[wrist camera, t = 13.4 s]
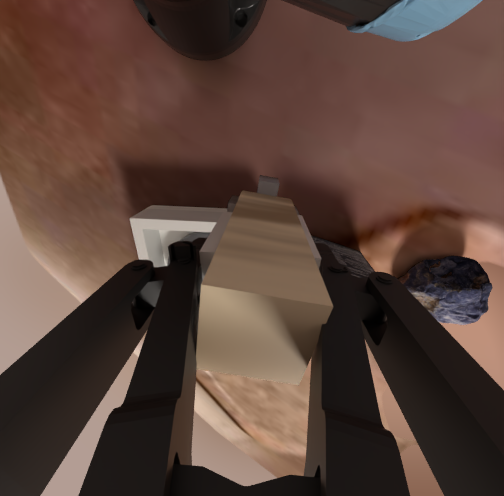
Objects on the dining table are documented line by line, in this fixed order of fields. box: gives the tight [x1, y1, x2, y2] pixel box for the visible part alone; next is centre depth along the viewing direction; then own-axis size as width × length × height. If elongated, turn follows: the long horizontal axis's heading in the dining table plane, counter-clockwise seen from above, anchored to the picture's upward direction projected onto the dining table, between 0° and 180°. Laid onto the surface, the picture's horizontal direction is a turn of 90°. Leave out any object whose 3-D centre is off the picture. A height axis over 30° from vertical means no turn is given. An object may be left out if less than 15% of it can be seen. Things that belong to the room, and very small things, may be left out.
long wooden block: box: [196, 175, 333, 385], centre depth 14 cm, size 6×6×15 cm
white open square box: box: [130, 205, 227, 267], centre depth 37 cm, size 19×19×7 cm
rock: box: [398, 256, 492, 325], centre depth 36 cm, size 11×10×10 cm
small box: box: [311, 235, 375, 279], centre depth 34 cm, size 11×6×10 cm, turn 72°
